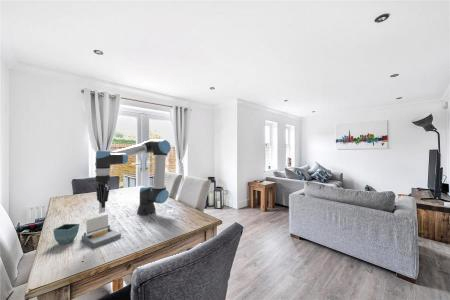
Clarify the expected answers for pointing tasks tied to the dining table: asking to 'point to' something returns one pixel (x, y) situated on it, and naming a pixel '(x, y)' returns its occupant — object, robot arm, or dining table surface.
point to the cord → (99, 233)
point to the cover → (97, 223)
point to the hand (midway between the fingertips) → (102, 212)
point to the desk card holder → (101, 237)
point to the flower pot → (66, 233)
